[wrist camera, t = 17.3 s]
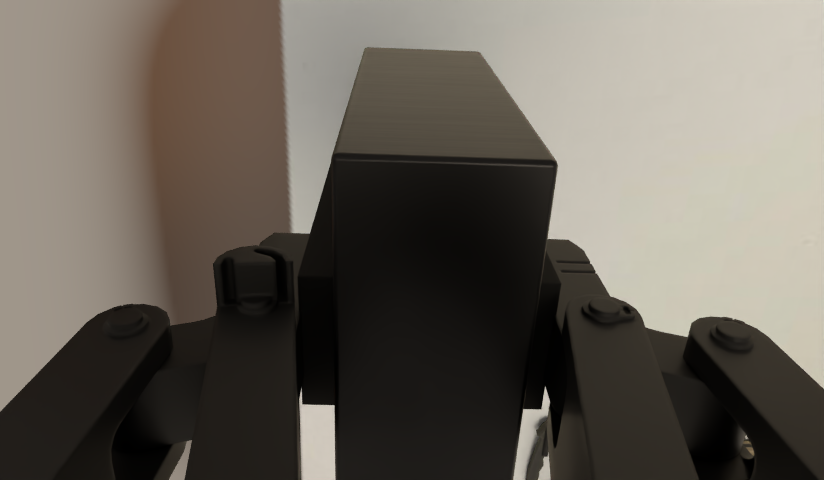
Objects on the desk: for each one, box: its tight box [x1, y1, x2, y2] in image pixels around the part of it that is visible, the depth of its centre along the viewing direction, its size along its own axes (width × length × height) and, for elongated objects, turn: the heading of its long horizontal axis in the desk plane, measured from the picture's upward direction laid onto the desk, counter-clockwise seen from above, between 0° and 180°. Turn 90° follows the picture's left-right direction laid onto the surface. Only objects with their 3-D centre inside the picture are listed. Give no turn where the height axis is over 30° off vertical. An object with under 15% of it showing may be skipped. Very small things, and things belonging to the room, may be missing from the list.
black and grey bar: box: [331, 47, 558, 480], centre depth 16 cm, size 18×3×9 cm, turn 178°
